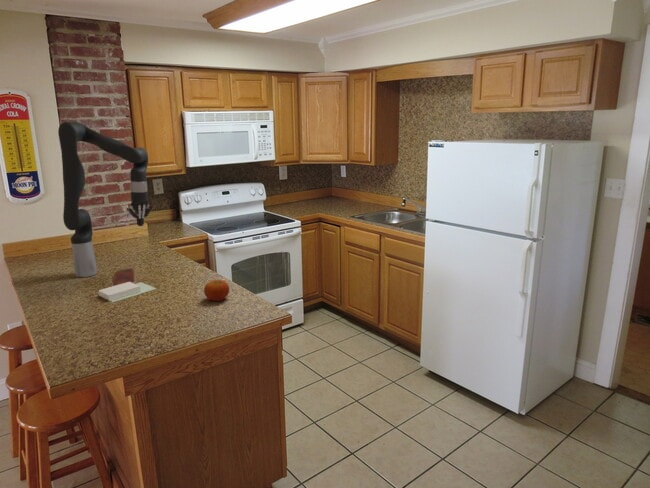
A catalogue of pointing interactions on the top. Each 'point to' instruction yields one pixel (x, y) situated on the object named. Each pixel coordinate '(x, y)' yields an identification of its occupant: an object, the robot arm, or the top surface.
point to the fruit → (216, 290)
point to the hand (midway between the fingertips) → (140, 225)
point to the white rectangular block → (119, 291)
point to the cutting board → (143, 289)
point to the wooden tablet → (123, 276)
